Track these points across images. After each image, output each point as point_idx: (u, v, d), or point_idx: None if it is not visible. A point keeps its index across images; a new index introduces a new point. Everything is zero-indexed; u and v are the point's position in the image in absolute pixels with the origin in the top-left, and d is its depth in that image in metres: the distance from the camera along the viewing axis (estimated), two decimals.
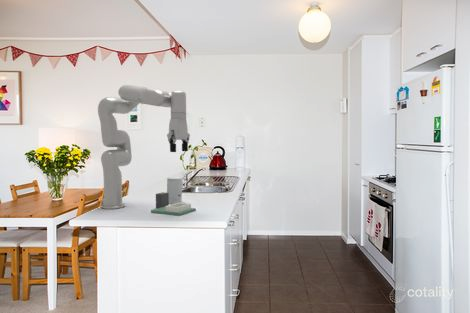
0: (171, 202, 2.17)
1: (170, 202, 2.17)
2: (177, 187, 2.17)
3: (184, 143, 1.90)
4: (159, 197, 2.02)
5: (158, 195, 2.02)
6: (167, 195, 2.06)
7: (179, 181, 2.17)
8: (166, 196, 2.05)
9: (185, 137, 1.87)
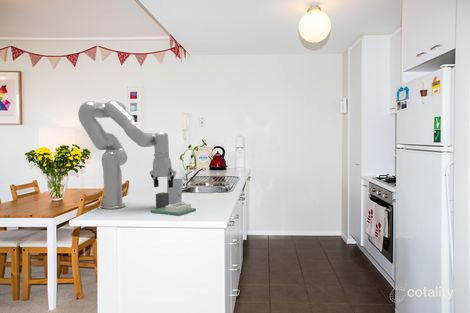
0: (171, 202, 2.17)
1: (170, 202, 2.17)
2: (177, 187, 2.17)
3: (156, 179, 2.06)
4: (159, 197, 2.02)
5: (158, 195, 2.02)
6: (167, 195, 2.06)
7: (179, 181, 2.17)
8: (166, 196, 2.05)
9: None
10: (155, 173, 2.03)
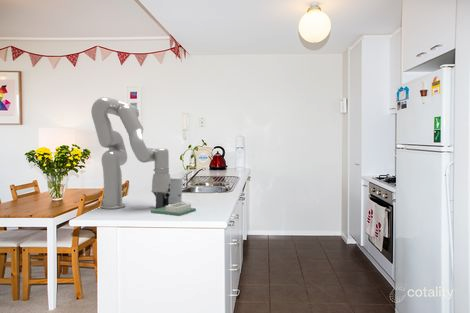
0: (171, 202, 2.17)
1: (170, 202, 2.17)
2: (177, 187, 2.17)
3: None
4: (159, 197, 2.02)
5: (158, 195, 2.02)
6: None
7: (179, 181, 2.17)
8: None
9: None
10: (154, 188, 2.03)
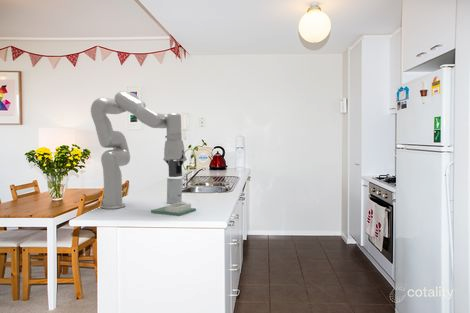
0: (171, 202, 2.17)
1: (170, 202, 2.17)
2: (177, 187, 2.17)
3: None
4: (173, 164, 1.91)
5: (171, 162, 1.91)
6: None
7: (179, 181, 2.17)
8: None
9: None
10: (167, 156, 1.92)
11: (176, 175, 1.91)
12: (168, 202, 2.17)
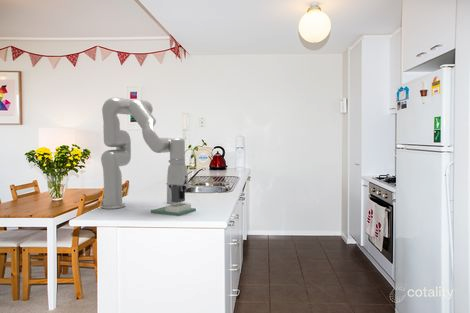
0: (171, 202, 2.17)
1: (170, 202, 2.17)
2: None
3: None
4: (175, 190, 1.89)
5: (174, 188, 1.90)
6: None
7: None
8: None
9: None
10: (170, 181, 1.91)
11: (179, 200, 1.90)
12: (168, 202, 2.17)
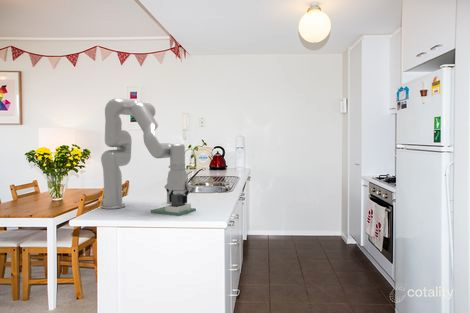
0: None
1: (170, 202, 2.17)
2: None
3: (172, 194, 1.94)
4: (175, 198, 1.90)
5: (174, 196, 1.90)
6: None
7: None
8: None
9: None
10: (170, 186, 1.91)
11: None
12: (168, 202, 2.17)
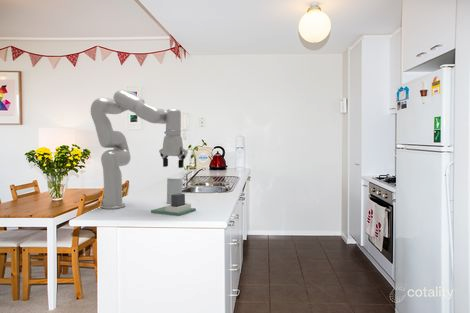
0: None
1: (170, 202, 2.17)
2: (177, 187, 2.17)
3: (166, 159, 1.95)
4: (175, 198, 1.90)
5: (174, 196, 1.90)
6: (184, 196, 1.94)
7: (179, 181, 2.17)
8: (182, 197, 1.92)
9: None
10: (165, 152, 1.92)
11: None
12: (168, 202, 2.17)
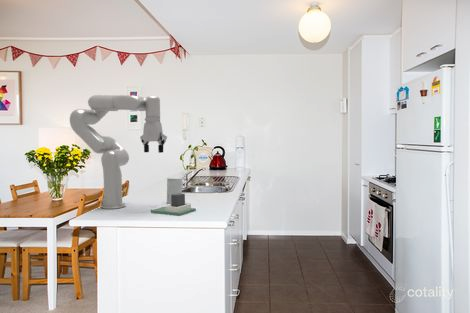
0: None
1: (170, 202, 2.17)
2: (177, 187, 2.17)
3: (146, 145, 2.03)
4: (175, 198, 1.90)
5: (174, 196, 1.90)
6: (184, 196, 1.94)
7: (179, 181, 2.17)
8: (182, 197, 1.92)
9: None
10: (145, 137, 1.99)
11: None
12: (168, 202, 2.17)
